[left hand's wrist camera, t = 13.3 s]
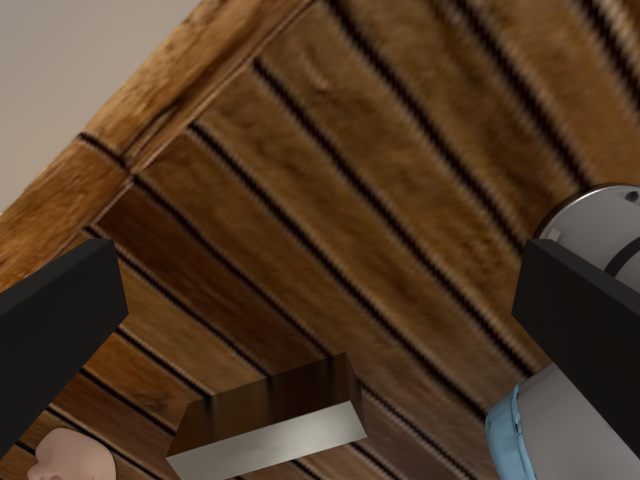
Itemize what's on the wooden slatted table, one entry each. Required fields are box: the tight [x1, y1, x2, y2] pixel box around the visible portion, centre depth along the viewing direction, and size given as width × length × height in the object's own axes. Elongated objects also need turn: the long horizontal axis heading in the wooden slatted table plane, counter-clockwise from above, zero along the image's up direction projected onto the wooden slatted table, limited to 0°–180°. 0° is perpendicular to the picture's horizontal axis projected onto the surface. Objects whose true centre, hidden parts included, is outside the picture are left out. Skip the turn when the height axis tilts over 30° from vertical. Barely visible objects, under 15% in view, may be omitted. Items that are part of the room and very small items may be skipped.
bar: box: [166, 353, 367, 480], centre depth 46 cm, size 22×6×8 cm, turn 112°
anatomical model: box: [27, 428, 116, 480], centre depth 52 cm, size 13×4×12 cm
